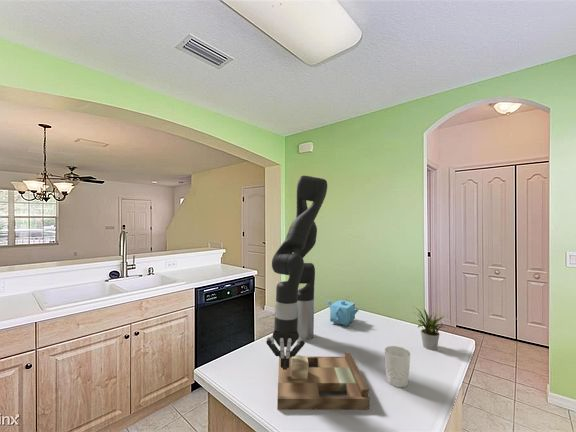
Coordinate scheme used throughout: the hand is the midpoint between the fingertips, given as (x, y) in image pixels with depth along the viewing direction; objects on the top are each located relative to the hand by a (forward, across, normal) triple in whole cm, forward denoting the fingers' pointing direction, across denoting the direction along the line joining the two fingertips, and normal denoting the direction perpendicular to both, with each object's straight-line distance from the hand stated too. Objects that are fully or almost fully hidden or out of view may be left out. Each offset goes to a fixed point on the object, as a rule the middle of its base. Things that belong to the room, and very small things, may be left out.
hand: (284, 368), depth 91 cm
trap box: (+5, -11, 0) cm, 12 cm away
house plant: (+4, -60, -28) cm, 66 cm away
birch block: (+2, -5, 0) cm, 5 cm away
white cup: (+5, -37, -2) cm, 38 cm away
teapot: (+4, -29, -54) cm, 62 cm away
